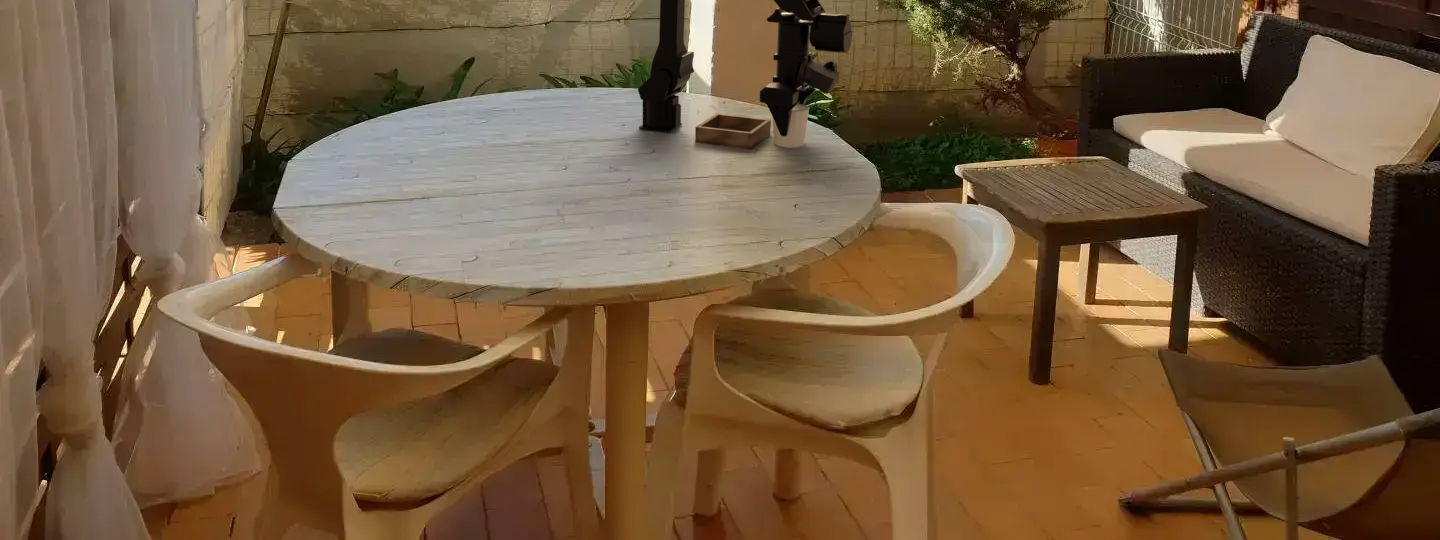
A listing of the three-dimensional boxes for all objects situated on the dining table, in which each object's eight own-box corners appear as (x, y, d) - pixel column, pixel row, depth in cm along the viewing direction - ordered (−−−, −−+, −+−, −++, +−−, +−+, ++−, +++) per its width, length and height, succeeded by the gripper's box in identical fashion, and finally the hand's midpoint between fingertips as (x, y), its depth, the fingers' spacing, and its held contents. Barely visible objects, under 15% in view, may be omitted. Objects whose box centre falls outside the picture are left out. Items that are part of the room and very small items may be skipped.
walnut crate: (695, 142, 234) (695, 126, 233) (716, 128, 244) (716, 113, 243) (751, 149, 231) (751, 133, 230) (770, 135, 240) (770, 119, 239)
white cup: (808, 139, 238) (809, 102, 236) (806, 149, 232) (808, 112, 229) (771, 137, 239) (773, 101, 236) (769, 147, 232) (770, 110, 230)
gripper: (821, 61, 218) (816, 149, 224) (849, 42, 234) (844, 124, 240) (760, 56, 222) (757, 142, 227) (792, 37, 238) (788, 118, 244)
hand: (789, 131), depth 234 cm, fingers closed on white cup, 6 cm apart
